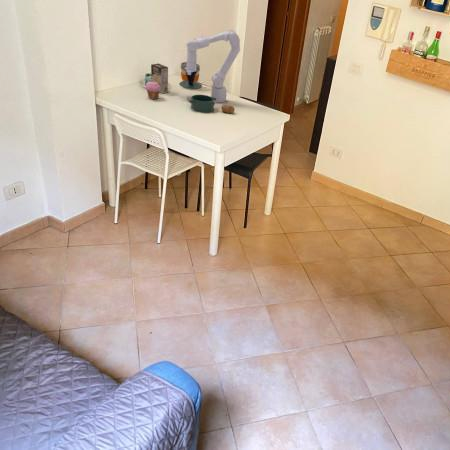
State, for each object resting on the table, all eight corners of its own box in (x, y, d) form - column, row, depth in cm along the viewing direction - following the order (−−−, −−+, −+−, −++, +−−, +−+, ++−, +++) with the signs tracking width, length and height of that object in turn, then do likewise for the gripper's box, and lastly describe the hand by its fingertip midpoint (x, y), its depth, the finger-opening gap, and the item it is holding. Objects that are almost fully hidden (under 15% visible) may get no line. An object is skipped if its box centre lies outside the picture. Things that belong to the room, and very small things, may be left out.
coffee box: (150, 89, 279) (150, 64, 270) (158, 88, 284) (158, 63, 275) (161, 93, 275) (160, 68, 267) (168, 92, 280) (168, 66, 272)
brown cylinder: (234, 112, 269) (235, 105, 266) (233, 114, 265) (234, 107, 262) (221, 110, 268) (222, 103, 265) (220, 112, 264) (220, 105, 262)
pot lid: (174, 83, 272) (174, 76, 269) (193, 82, 281) (194, 74, 279) (187, 90, 264) (187, 82, 262) (206, 88, 274) (207, 81, 271)
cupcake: (153, 101, 262) (152, 84, 256) (142, 97, 265) (142, 80, 259) (163, 98, 268) (163, 82, 263) (153, 94, 271) (153, 78, 266)
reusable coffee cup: (190, 91, 289) (190, 68, 281) (176, 85, 294) (176, 63, 286) (203, 88, 299) (203, 66, 291) (189, 83, 304) (190, 61, 296)
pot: (183, 106, 262) (183, 96, 259) (208, 103, 274) (208, 93, 271) (195, 114, 255) (196, 103, 252) (221, 110, 267) (221, 100, 264)
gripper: (187, 57, 270) (187, 79, 278) (182, 63, 258) (182, 85, 265) (198, 59, 271) (198, 81, 278) (194, 64, 259) (193, 87, 266)
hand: (191, 83), depth 272 cm, fingers closed on pot lid, 2 cm apart
